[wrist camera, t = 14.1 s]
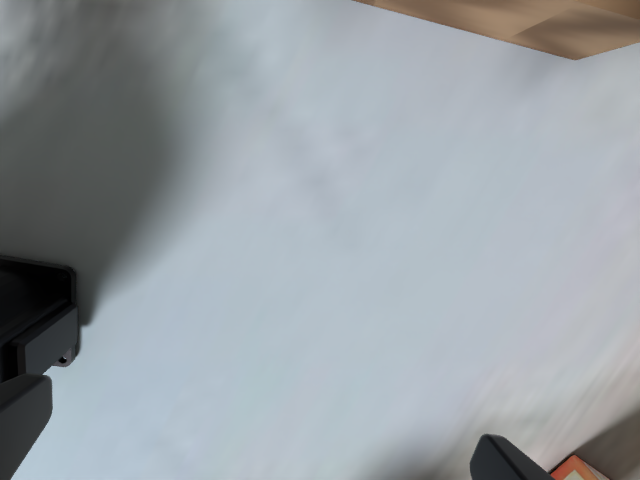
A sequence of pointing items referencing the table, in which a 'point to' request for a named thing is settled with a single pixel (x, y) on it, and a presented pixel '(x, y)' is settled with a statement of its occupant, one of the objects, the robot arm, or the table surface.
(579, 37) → the socket board
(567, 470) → the cracker box
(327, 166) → the table surface
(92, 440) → the table surface
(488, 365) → the table surface
